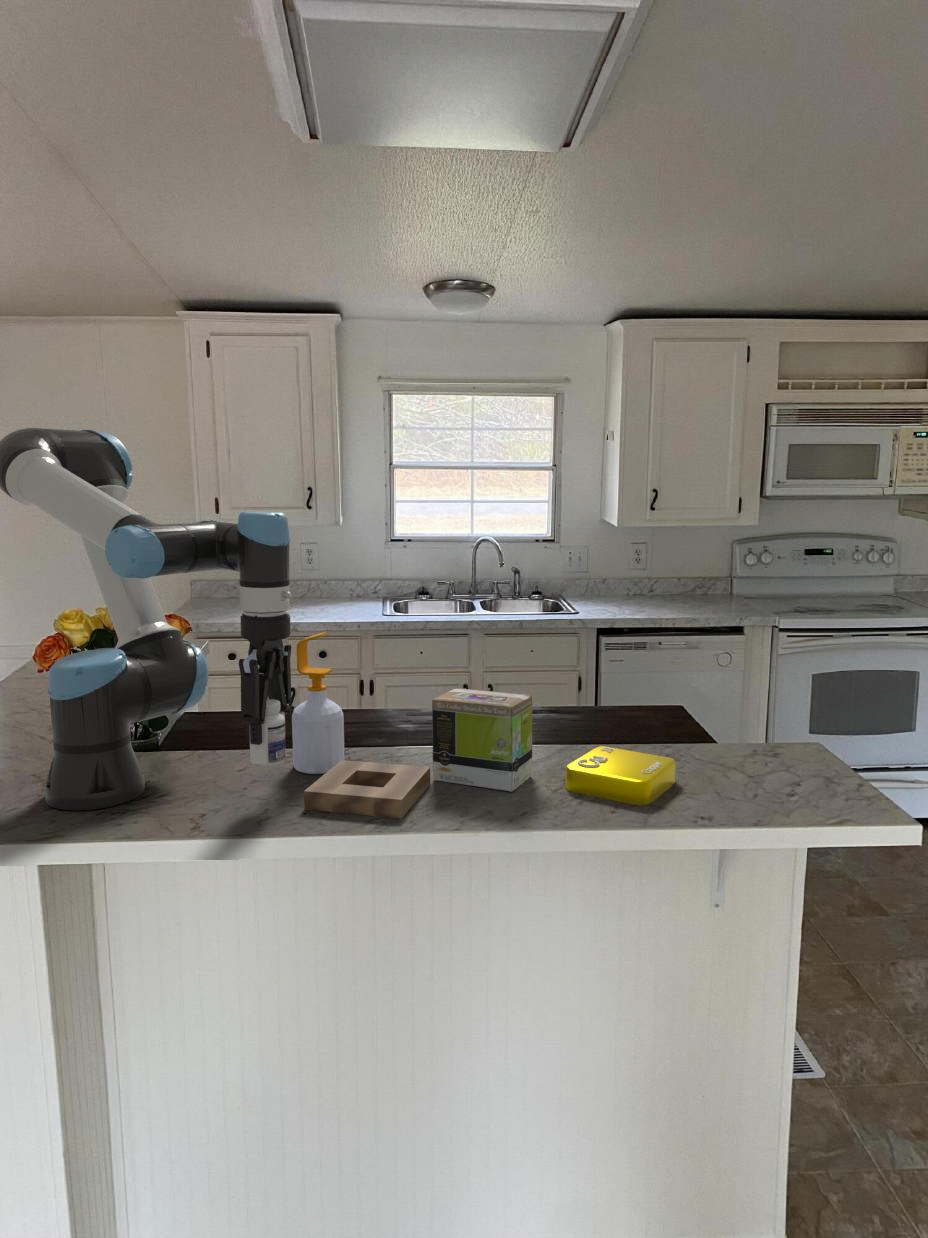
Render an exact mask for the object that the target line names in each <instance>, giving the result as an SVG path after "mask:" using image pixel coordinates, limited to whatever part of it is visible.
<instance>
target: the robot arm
mask: <svg viewBox="0 0 928 1238" xmlns="http://www.w3.org/2000/svg"><path fill="white" fill-rule="evenodd" d="M133 468H134V467H133V464H132V459H131V456H130V454H129V451H128V449H127V447H125V445H124V444H123V443H122V441H121V440H119V439H118V438H117V437H115V436H114V435H112V434H110V433H108V432H105V431H104V432H102V431H96V430H92V429H81V430H75V429H74V430H73V429H72V430H71V429H70V430H69V429H56V428H42V427H41V428H40V427H26V428H20V429H17V430H14V431H12V432H10V433H8V434H7V435H5V436H3V437H2V439H0V490H1V491H2V492H3V493H4V494H6V495H7V496H9V497H10V498H12V499H13V500H15V501H16V502H18V503H19V504H22V505H25V506H36V507H37V508H38V509H40V510H42V511H43V512H45V513H46V514H48V515H49V516H50V517H52V518H54V519H55V520H57V521H58V522H60V523H62V524H63V525H64V526H65V527H67V528H70V529H71V530H72V531H74V532H75V533H77V534H79V536H80V538H81V541H82V543H83V546H84V549H85V551H86V554H87V556H88V560H89V562H90V565H91V567H92V571H93V573H94V576H95V579H96V582H97V584H98V587H99V590H100V592H101V595H102V598H103V601H104V604H105V606H106V609H107V612H108V614H109V617H110V620H111V623H112V625H113V629H114V631H115V633H116V636H117V640H118V641H117V642H116V643H117V644H116V645H115V647H103V648H101V647H100V648H96V649H93V650H92V649H88V650H83V651H79V652H74V653H71V654H69V655H66V656H64V657H62V658H59V659H58V660H56V661H55V662H53V664H52V666H51V667H50V668H49V673H48V688H47V694H48V697H49V706H50V708H49V709H50V716H51V717H50V718H51V731H52V742H53V744H52V745H53V757H52V760H51V763H50V766H49V767H50V768H49V770H48V773H47V778H46V782H45V786H44V798H45V803H46V805H48V806H49V807H51V808H54V809H59V810H61V811H63V810H64V811H90V810H97V809H98V810H99V809H105V808H110V807H114V806H118V805H121V804H124V803H127V802H130V801H132V800H134V799H136V798H138V797H140V796H141V795H142V794H143V793H144V792H145V790H146V787H145V785H146V784H145V783H146V782H145V776H144V775H145V774H144V772H143V771H142V768H141V766H140V764H139V761H138V758H137V756H136V753H135V751H134V748H133V747H132V741H131V724H135V723H139V722H142V721H146V720H152V719H156V718H158V717H163V716H166V715H171V714H172V715H175V714H179V713H180V712H181V711H185V710H188V709H191V708H192V707H194V706H196V705H197V704H198V703H199V702H201V700H202V698H203V697H204V696H205V693H206V691H207V686H208V683H209V667H208V662H207V659H206V655H205V654H204V653H203V651H202V649H201V648H200V647H198V646H197V645H196V644H194V643H191V642H185V641H184V639H183V636H182V634H181V630H180V629H179V628H177V627H174V626H172V625H170V624H169V623H168V622H167V621H168V620H167V618H166V615H165V612H164V610H163V608H162V604H161V603H160V600H159V598H158V594H157V591H156V590H155V586H154V584H153V581H152V578H153V577H162V576H170V575H177V574H187V573H188V574H189V573H190V574H191V573H200V572H208V571H209V572H210V571H231V572H232V571H233V572H239V609H240V611H241V612H243V613H242V614H241V616H240V636H241V638H243V639H244V640H247V641H248V642H249V645H248V646H249V647H248V651H247V653H248V656H247V657H246V658H240V659H239V660H238V668H239V673H240V721H241V722H242V723H243V724H248V725H249V754H250V755H249V758H250V759H249V761H250V764H253V763H257V764H268V722H264V721H265V712H266V703H267V699H274V700H278V701H280V711H279V713H280V714H282V715H283V716H284V718H285V719H286V714H285V712H290V711H291V709H292V705H291V704H292V676H291V675H292V674H291V672H292V671H291V655H292V654H291V653H292V645H291V644H286V643H284V642H283V640H284V639H285V640H286V639H287V638H289V637H290V636H291V615H290V613H289V612H287V611H289V610H290V609H291V604H290V603H291V598H292V596H293V595H292V592H291V591H290V583H291V582H290V543H291V538H290V529H289V521H288V517H287V515H286V514H285V513H284V512H280V511H279V512H278V511H261V510H259V511H258V510H257V511H243V512H241V513H239V514H238V519H237V522H236V523H234V522H226V521H225V522H224V521H222V522H221V521H217V520H212V519H211V520H198V521H194V522H192V523H191V522H190V523H189V522H188V523H171V524H170V523H169V524H168V523H166V524H162V523H161V524H160V523H157V522H155V521H154V520H151V519H150V518H148V517H146V516H144V515H142V514H140V513H139V512H137V511H136V510H133V509H132V508H130V507H129V506H128V505H126V504H124V503H125V502H126V500H127V498H128V497H129V492H128V490H129V489H130V487H131V484H132V481H133V474H132V473H131V472H132V471H133Z"/></svg>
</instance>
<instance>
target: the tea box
mask: <svg viewBox="0 0 928 1238" xmlns="http://www.w3.org/2000/svg"><path fill="white" fill-rule="evenodd" d="M431 701H432V702H431V708H432V709H431V713H432V714H431V715H432V716H431V718H432V719H431V721H432V722H431V726H432V729H431V730H432V734H431V735H432V774H433V775H432V779H433V781H438V782H444V783H453V784H457V785H464V786H465V785H466V786H473V787H479V788H487V789H491V790H492V789H493V790H499V791H505V792H511V793H513V792H514V791H515V790H516V789H518V788H519V787H520V786H521V785H523V784H524V783H525V782H526V781H527V780H528V779H530V778H531V777H532V774H533V773H532V772H533V695H532V694H526V693H514V692H513V693H512V692H503V691H502V692H501V691H493V690H490V691H489V690H482V689H481V690H480V689H471V688H470V689H467V688H460V687H458V688H457V687H456V688H453V689H452V690H449V691H447V692H445V693H442V694H440V695H438V696H436V697H434V698H432V700H431Z"/></svg>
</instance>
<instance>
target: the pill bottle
mask: <svg viewBox="0 0 928 1238" xmlns="http://www.w3.org/2000/svg"><path fill="white" fill-rule="evenodd" d="M279 711H280V701H278V700H274V699H269V698H267V703H266V712H265V721H264V722H268V764H257V763H252V764H253V765H255V766H257V767H264V768H265V767H266V768H268V767H275V766H280V765H282V764H284V763H285V762H286V758H287V757H286V717H285V718H284V716H283V715H282V714H280V713H279Z"/></svg>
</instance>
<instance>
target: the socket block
mask: <svg viewBox="0 0 928 1238" xmlns="http://www.w3.org/2000/svg"><path fill="white" fill-rule="evenodd" d="M430 785H431V766H420V765H409V764H395V763H387V762H386V763H385V762H384V763H382V762H373V761H372V762H371V761H358V760H345V759H344V760H341V761H340V762H339V763H338V764H336V765H335V766H334V767H333V768H331V769H330V770H329V771H328V772H327V773H325V774H322V776H320V777H319V778H318V779H317V780H315V781H314V782H313V783H312V784H310V785H309V786H308V787H307V788H305V790H303V798H304V799H303V802H304V803H303V804H304V810H306V811H307V810H308V811H319V812H328V813H341V814H348V815H349V814H350V815H359V816H372V817H383V818H393V819H403V818H404V816H406V814H407V813H408V812H409V810H410V809H411V808H412V807H413V806H414V804H416V802H417V801H418V800H419V798H421V796H422V795H423V793H424V792H425V791H426V790H427V789H428V787H429V786H430Z"/></svg>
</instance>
